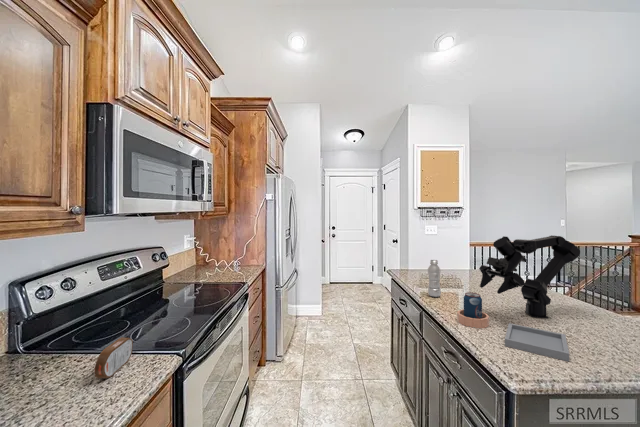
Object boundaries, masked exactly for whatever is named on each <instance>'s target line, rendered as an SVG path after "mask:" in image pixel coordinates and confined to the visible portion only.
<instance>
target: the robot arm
mask: <svg viewBox="0 0 640 427" xmlns="http://www.w3.org/2000/svg"><path fill="white" fill-rule="evenodd" d="M492 244H493V245H492V246H493V247H494V248H495V249H496V250H497V252H499V253H500V255H501V256H503V257H501V258H495V257H490V256H488V259H487V261H486V264H487V265H485V264H483V265H480V267H479V268H478V270H479V271H480V273H481V274H482V275H481V281H480V285H479V287H480V288H484V287H485V286H487V285H488V284H489V283H491V281H493V280H494V279H493V278H495V277H500V278H502V279H503V281H502V283H501V285H500V286H499V288H497V291H496V293H497V294H499V295H500V294H502V293H504V292H507V291H509V290H510V291H511V290H512V289H515V288H519V287H520V290H521V291H520V292H521V295H522V298H523V300H526V303H525V311H524V312H525V314H527V315H528V316H530V317H531V318H541V319H543V318H544V319H549V316H548V315H547V306H548V305H550V304H551V302H552V301H551V300H552V299H551V298H550V297H549V295H548V286H549V284H550V283H551V282H552V281H553V280H554V279H555V278H556V277H557V275H558V273H559V272H560V271H561V270H562V269H563V267H564V266H565V265H566V264H568V263H572V262H574V261H575V260H576V259H578V258H579V256H580V255H581V250H580V248H579V247H578V246H577V245H576V244H574V243H573V242H570V241H568V240H567V239H566V238H565V237H563V236H562V235H549V236H544V237H540V238H534V239H533V238H532V239H520V238H519V239H518V238H517V239H514V240H513V241H512V240H510V238H509V237H508V236H506V235H505V236H502V237H500V238H498V239H497V240H494V241H493V243H492ZM549 247H550V248H551V250H553V251H552V256H553V257H552V258H551V259H550V261H549V262H548V263H547V264H546V265H545V267H544V268H543V269H542V270H541V271H540V272H539V274H538V275H537V276H536V278H535V277H534V278H533V279H531V278H528V279H526V280H524V278H523V277H521V276H520V275H519V273H518V272H517V271H518V268H517V267H519V266H518V265H520V264H521V262H523V263H527V259H526V255H523V254H527V255H530V254H532V253H535V252H536V251H537V250H539V249H543V248H549ZM489 265H490V266H491V267H490V266H489Z"/></svg>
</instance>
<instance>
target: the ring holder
mask: <svg viewBox="0 0 640 427" xmlns="http://www.w3.org/2000/svg"><path fill="white" fill-rule="evenodd" d="M456 312H457V313H456V319H457V322H458V323H459V324H461V325H463V326H466V327H469V326H470V327H469V328H473V327H475V328H474V329H484V328H488V327H489V326H490V316H489V315H488V314H487V313H486V312H483V311H482V319H475V318H469V317H465V316H464V308H463V309H459V310H457V311H456Z"/></svg>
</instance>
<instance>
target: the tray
mask: <svg viewBox="0 0 640 427" xmlns="http://www.w3.org/2000/svg"><path fill="white" fill-rule="evenodd" d="M505 332H506V334H505V337H504V347H508V348H510V349H511V348H513V349H516V350H520V351H525V352H528V353H532V354H537V355H540V356H545V357H549V358H552V359H553V358H554V359H557V360H561V361H564V362H570V350H569V347H568V341H567V337H566V334H565V333H560V332H556V331H551V330H546V329H540V328H535V327H530V326H524V325H521V324H516V323H511V322H508V325H507V329H506V331H505Z"/></svg>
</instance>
